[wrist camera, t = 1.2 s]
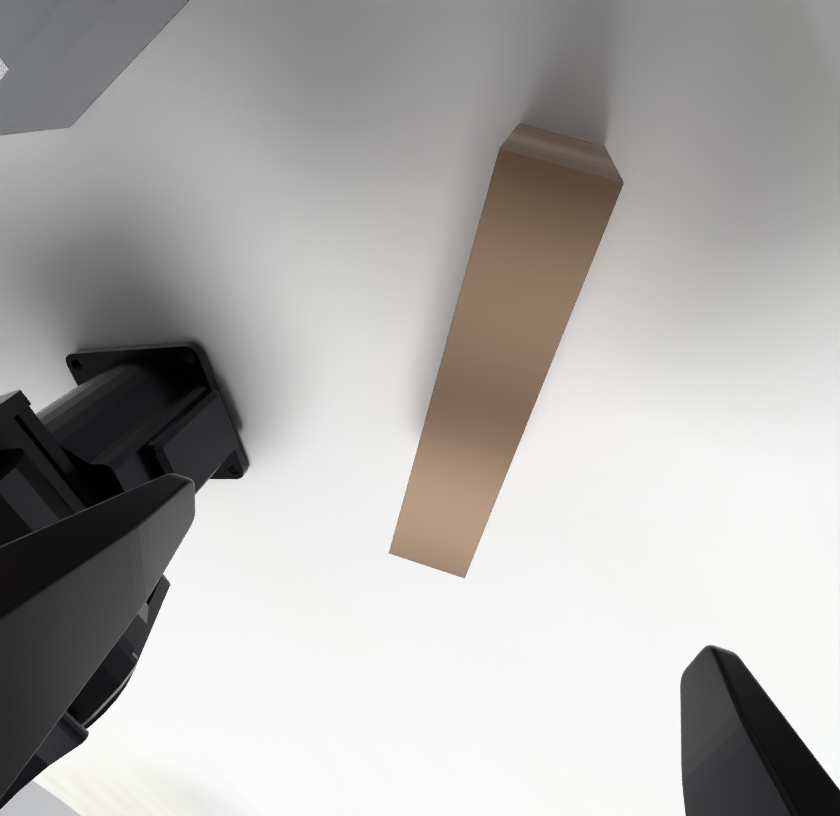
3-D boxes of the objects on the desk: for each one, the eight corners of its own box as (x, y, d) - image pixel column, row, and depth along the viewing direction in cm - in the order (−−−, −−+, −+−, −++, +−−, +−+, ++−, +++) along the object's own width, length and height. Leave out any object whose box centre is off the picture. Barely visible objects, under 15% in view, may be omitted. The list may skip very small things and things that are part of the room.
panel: (486, 464, 22) (464, 578, 17) (427, 445, 22) (388, 553, 17) (604, 146, 16) (623, 182, 11) (519, 123, 16) (499, 148, 11)
